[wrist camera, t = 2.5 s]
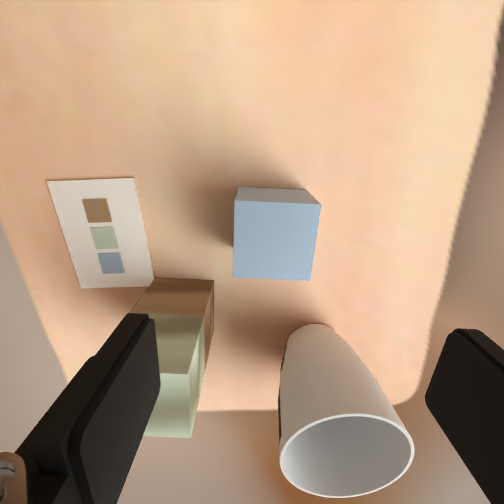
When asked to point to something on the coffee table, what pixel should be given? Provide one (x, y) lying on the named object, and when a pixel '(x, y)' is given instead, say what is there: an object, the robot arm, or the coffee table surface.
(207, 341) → the tower base
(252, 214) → the blue brick
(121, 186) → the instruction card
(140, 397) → the robot arm
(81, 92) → the coffee table surface
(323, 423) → the cup
